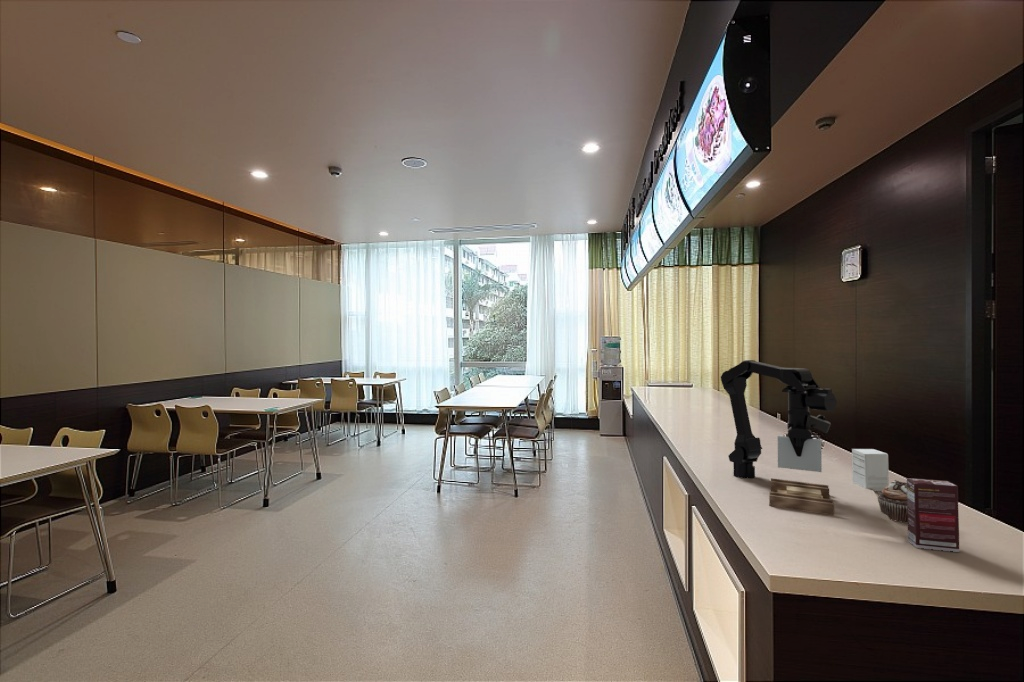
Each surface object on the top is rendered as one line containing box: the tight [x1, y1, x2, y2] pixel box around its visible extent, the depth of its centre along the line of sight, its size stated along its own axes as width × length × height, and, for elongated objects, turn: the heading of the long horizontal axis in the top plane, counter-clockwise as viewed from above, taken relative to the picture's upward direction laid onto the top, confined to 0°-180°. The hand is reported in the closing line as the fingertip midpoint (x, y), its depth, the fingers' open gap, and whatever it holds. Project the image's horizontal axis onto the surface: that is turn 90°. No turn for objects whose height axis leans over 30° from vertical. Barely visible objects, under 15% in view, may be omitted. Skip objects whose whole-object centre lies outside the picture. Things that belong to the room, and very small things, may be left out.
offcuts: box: [777, 486, 823, 498], centre depth 146 cm, size 12×5×3 cm, turn 60°
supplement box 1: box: [851, 448, 890, 492], centre depth 159 cm, size 7×7×13 cm
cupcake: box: [877, 479, 907, 523], centre depth 134 cm, size 10×10×10 cm
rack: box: [768, 477, 835, 516], centre depth 146 cm, size 16×20×4 cm
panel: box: [777, 435, 823, 473], centre depth 152 cm, size 12×2×10 cm, turn 60°
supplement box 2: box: [906, 477, 960, 553], centre depth 115 cm, size 9×5×16 cm, turn 71°
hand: (798, 455), depth 152 cm, fingers closed on panel, 2 cm apart
